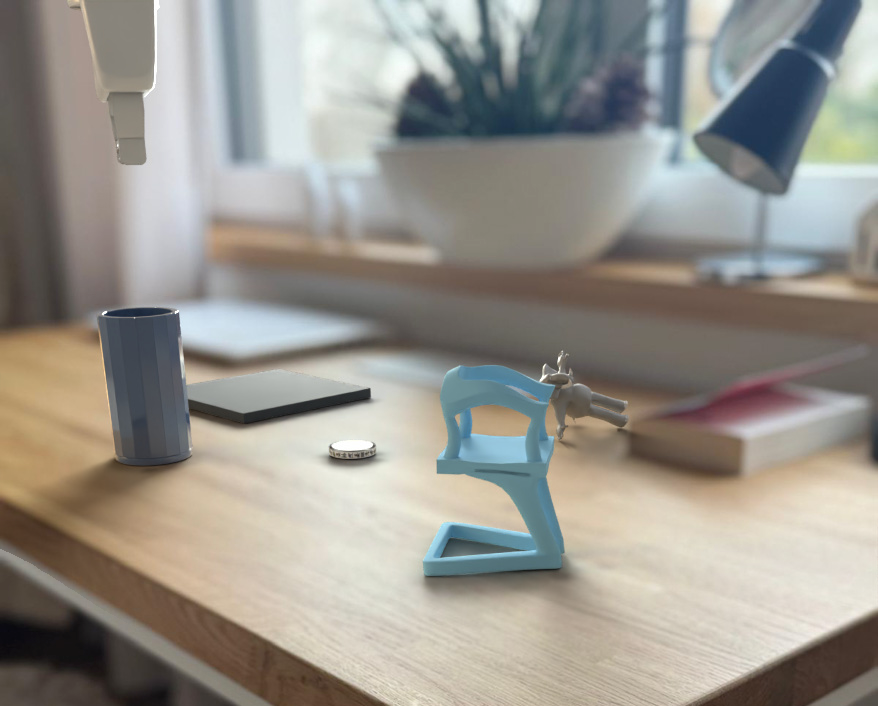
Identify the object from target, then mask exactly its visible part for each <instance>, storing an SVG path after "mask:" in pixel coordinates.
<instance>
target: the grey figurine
mask: <svg viewBox="0 0 878 706" xmlns="http://www.w3.org/2000/svg"><path fill="white" fill-rule="evenodd" d="M569 356H570V354H569V353H566V354H565V350H561V351H560V352H559V353H558V357H557V358H558V359H557V362H556V366H558V371H557V370H555V369H553V368H552V367H550V366H549V365H548V363H545V364H544V365H543V366H542V370H541V371H542V372H541V373H542V376H541V378H540V379H539V380H538V381H539V382H542V383H545V384H551V385H555V388H554V391H553V393H552V395H551V397H550V400H549V402H550V403H549V404H550V405H551V406H552V408H553V411H554V417H555V420H556V423H557V427H556V429H555V434H556V436H557V438H556V439H557V440H558V441H561V440H562V439H563V437H564V432H565V430H566V428H569V425H568V424H566V417H570V418H571V419H572V421H573V422H574V424H576V423H577V422H576V419H581V418H582V419H583V418H584V417H590V418H593V419H597V420H601V421H603V422H606V423H609V424H611V425H613V426H615V427H618V428H620V429H622V428H624V427H626V425H627V424H628V423H629V419H630V416H629V414H622V413H623V412H625V410H626V409H627V407H628V404H629V402H628V401H627V400H622V399H617V398H613V397H611V396H607V395H603V394H601V393H598V392H595V391H592V389H591V388H590V387H589V386H587V385H585V384H582V383H575V382H574V381H575V378H574V377H573V370H572V368H571V367H569V372H568V374H567V373H566V366H567V361H568V359H569ZM574 383H575V384H574Z"/></svg>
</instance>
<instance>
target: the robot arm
mask: <svg viewBox="0 0 878 706" xmlns="http://www.w3.org/2000/svg"><path fill="white" fill-rule="evenodd" d="M66 2H67V7H68V8H69V9H71V10H74V11H79V12H81V15H82V19H83V24H84V28H85V31H86V36H87V41H88V45H89V49H90V54H91V63H92V71H93V80H94V86H95V87H94V88H95V93H96V97H97V100H98V101H99V102H100V103H104V104H107V106H108V114H109V121H110V127H111V130H112V135H113V140H114V147H115V156H116V160H117V162H118V163H119V164H120V165H125V166H143V165H144V164H146V163H147V149H146V137H145V130H146V129H145V103H144V99H145V98H146V97H147V95H149V93H150V92H151V91H153V90H154V89H155V86H156V85H155V84H156V75H157V10H158V9H159V8H160V4H159V0H66Z"/></svg>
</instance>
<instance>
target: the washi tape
mask: <svg viewBox="0 0 878 706" xmlns="http://www.w3.org/2000/svg"><path fill="white" fill-rule="evenodd" d="M328 454H329V456H331V457H333V458H337V459H343V460H345V459H348V460H349V459H350V460H351V459H352V460H353V459H355V460H356V459H364V458H369V457H372V456H374V455H375V454H377V444H376V443H375V442H373V441H369V440H364V439H363V440H362V439H347V440H341V441H335V442H332V443H331V444H329V445H328Z"/></svg>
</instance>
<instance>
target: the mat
mask: <svg viewBox="0 0 878 706" xmlns="http://www.w3.org/2000/svg"><path fill="white" fill-rule="evenodd" d="M186 387H187V397H188V407H189V410H193V411H196V412H200V413H204V414H208V415H210V416H211V415H212V416H214V417H215V416H216V417H219V418H222V419H226V420H230V421H234V422H236V423H241V424H250V423H253V422H255V423H256V422H259V421H263V420H268V419H273V418H278V417H283V416H289V415H293V414H297V413H303V412H307V411H312V410H316V409H321V408H326V407H331V406H336V405H341V404H346V403H351V402H355V401H360V400H364V399H370V398H371V397H372V389H371V387H367V386H363V385H357V384H353V383H348V382H343V381H339V380H334V379H329V378H324V377H319V376H315V375H310V374H306V373H301V372H295V371H291V370H286V369H282V368H274V369H270V370H264V371H258V372H253V373H247V374H241V375H235V376H229V377H223V378H217V379H211V380H205V381H199V382H194V383H189V384H186Z"/></svg>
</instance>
